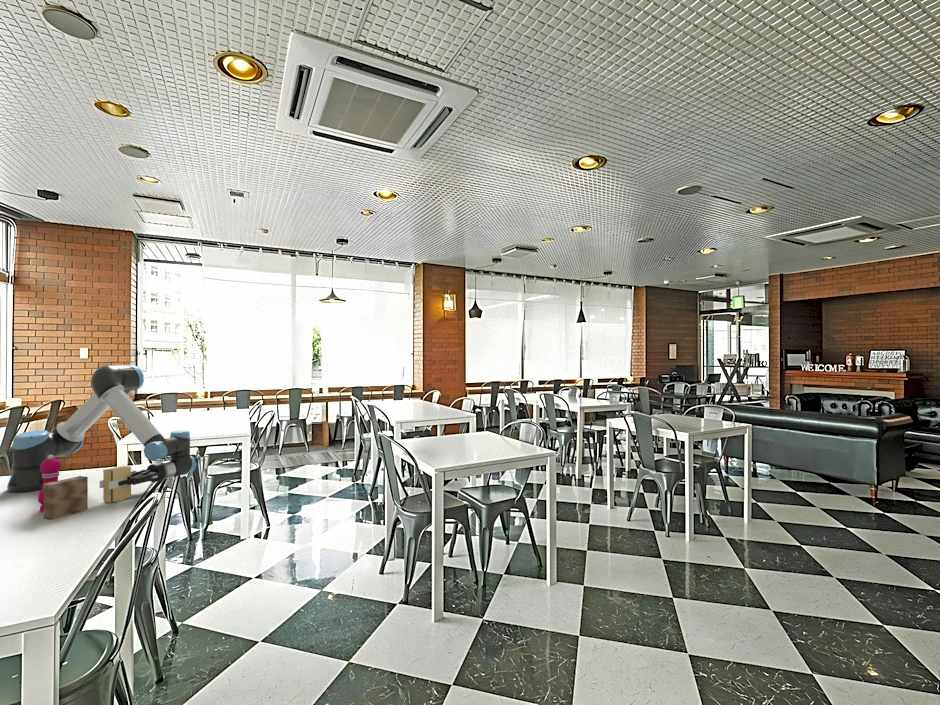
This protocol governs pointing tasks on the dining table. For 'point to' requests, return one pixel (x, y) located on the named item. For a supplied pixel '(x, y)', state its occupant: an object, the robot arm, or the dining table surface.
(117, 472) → the stub
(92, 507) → the dining table surface
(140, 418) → the robot arm
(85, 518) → the dining table surface
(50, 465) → the pepper mill
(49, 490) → the block
